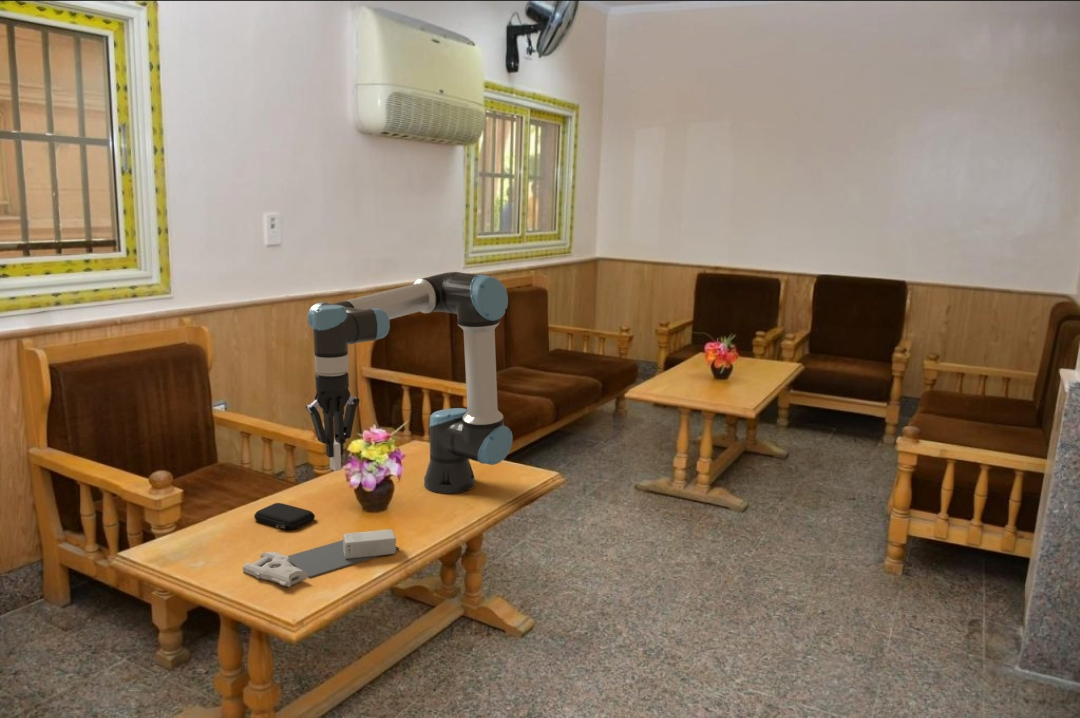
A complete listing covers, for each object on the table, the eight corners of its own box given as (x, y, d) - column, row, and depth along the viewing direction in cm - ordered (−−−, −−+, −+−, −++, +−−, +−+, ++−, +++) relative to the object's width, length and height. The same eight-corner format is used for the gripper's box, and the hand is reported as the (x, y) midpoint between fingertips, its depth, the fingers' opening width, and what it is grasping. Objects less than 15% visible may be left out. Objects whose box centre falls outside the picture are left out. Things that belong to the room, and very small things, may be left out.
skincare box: (344, 559, 200) (395, 555, 203) (345, 542, 199) (396, 538, 202) (342, 549, 205) (392, 545, 209) (342, 531, 204) (392, 528, 208)
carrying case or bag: (247, 523, 221) (289, 535, 214) (247, 512, 220) (288, 524, 214) (277, 510, 230) (318, 521, 224) (277, 499, 230) (318, 510, 223)
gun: (320, 562, 191) (284, 579, 183) (321, 576, 192) (285, 593, 184) (268, 546, 202) (233, 561, 194) (270, 559, 202) (234, 575, 194)
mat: (372, 532, 216) (372, 531, 216) (399, 549, 207) (399, 548, 207) (284, 558, 200) (284, 556, 200) (309, 578, 191) (309, 576, 191)
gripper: (349, 365, 201) (352, 459, 206) (298, 373, 193) (302, 470, 198) (365, 371, 196) (367, 467, 201) (313, 379, 187) (317, 479, 192)
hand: (335, 468), depth 199 cm, fingers closed
